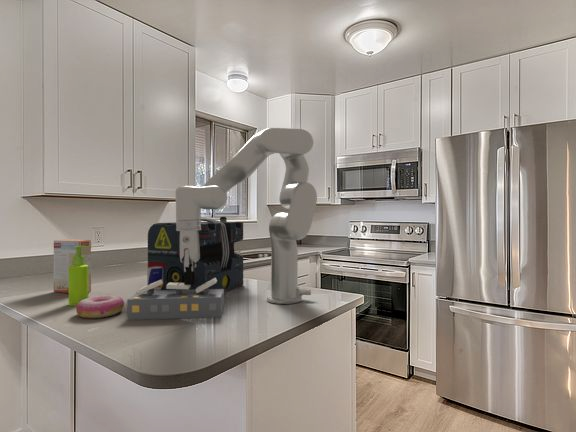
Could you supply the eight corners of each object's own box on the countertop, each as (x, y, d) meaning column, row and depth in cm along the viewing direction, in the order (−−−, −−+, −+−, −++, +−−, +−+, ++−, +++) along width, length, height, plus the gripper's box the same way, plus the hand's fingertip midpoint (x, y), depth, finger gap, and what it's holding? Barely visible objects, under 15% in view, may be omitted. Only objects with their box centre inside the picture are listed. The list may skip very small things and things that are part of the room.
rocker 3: (217, 280, 115) (215, 277, 115) (216, 283, 111) (213, 279, 111) (198, 290, 114) (196, 287, 114) (196, 293, 110) (194, 289, 110)
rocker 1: (163, 282, 113) (161, 278, 113) (159, 285, 109) (158, 281, 109) (143, 291, 113) (141, 287, 112) (139, 293, 109) (137, 289, 108)
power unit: (147, 293, 141) (147, 217, 141) (191, 281, 166) (191, 216, 166) (205, 299, 130) (205, 217, 130) (244, 285, 155) (244, 216, 155)
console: (223, 306, 119) (223, 284, 119) (220, 317, 107) (220, 292, 107) (140, 309, 116) (140, 286, 116) (127, 320, 104) (127, 294, 104)
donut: (106, 306, 120) (106, 291, 120) (133, 311, 114) (133, 296, 114) (66, 316, 108) (66, 300, 108) (93, 323, 102) (93, 305, 102)
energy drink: (158, 303, 124) (157, 268, 124) (144, 302, 125) (144, 268, 125) (166, 299, 130) (166, 266, 129) (152, 298, 131) (152, 266, 131)
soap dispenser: (94, 303, 124) (93, 245, 124) (71, 306, 119) (71, 247, 119) (88, 300, 128) (88, 244, 128) (66, 303, 123) (66, 246, 123)
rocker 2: (190, 286, 114) (190, 282, 114) (188, 289, 110) (188, 285, 110) (169, 286, 113) (169, 281, 113) (166, 288, 109) (166, 284, 109)
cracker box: (92, 291, 143) (91, 239, 143) (78, 294, 137) (78, 240, 137) (67, 289, 148) (66, 238, 148) (52, 292, 142) (52, 239, 142)
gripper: (197, 226, 105) (198, 288, 105) (203, 224, 120) (204, 279, 120) (171, 227, 104) (172, 289, 104) (180, 225, 119) (181, 280, 119)
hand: (189, 284), depth 112 cm, fingers closed
